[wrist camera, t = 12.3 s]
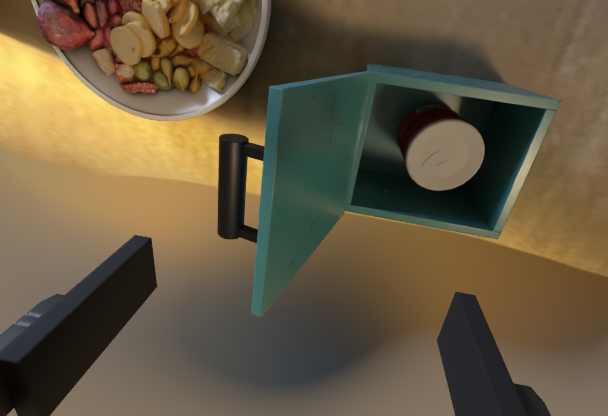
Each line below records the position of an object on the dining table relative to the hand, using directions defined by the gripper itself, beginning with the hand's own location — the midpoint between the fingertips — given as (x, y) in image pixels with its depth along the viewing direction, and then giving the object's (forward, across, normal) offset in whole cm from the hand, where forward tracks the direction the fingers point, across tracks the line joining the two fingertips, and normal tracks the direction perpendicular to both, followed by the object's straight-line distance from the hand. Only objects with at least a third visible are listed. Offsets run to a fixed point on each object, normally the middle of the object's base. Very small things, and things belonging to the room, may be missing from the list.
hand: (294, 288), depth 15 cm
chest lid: (+14, 0, 0) cm, 14 cm away
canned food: (+36, +12, 0) cm, 38 cm away
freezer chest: (+37, +11, 0) cm, 38 cm away
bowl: (+37, -25, +12) cm, 46 cm away
